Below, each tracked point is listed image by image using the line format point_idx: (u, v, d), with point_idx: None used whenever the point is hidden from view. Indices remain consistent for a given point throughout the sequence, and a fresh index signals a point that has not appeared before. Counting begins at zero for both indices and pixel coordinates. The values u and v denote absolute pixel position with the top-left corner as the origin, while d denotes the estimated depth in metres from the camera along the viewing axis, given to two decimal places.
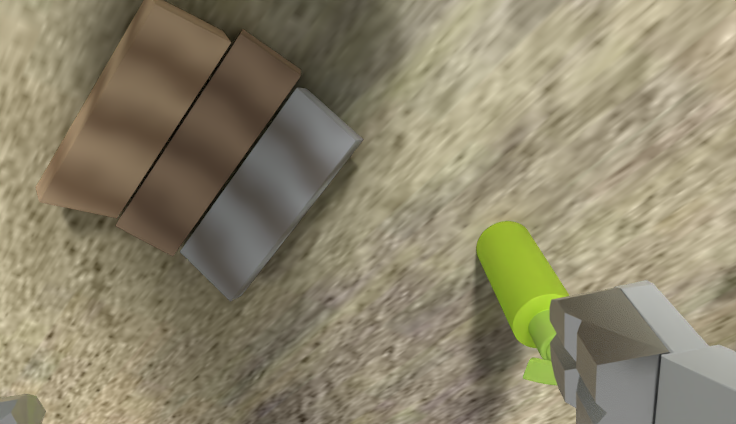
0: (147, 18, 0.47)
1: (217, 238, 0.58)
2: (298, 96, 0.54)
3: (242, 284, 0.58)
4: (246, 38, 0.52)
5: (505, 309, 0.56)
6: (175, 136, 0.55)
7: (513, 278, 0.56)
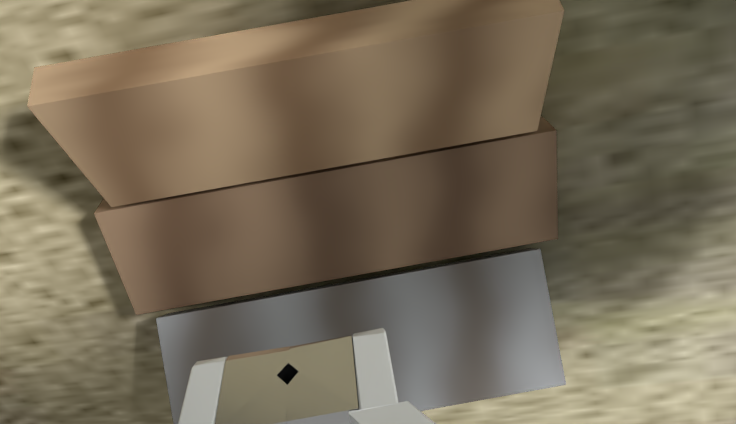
0: (530, 16, 0.23)
1: (240, 348, 0.32)
2: (533, 262, 0.32)
3: None
4: (555, 141, 0.29)
5: None
6: (327, 174, 0.29)
7: None
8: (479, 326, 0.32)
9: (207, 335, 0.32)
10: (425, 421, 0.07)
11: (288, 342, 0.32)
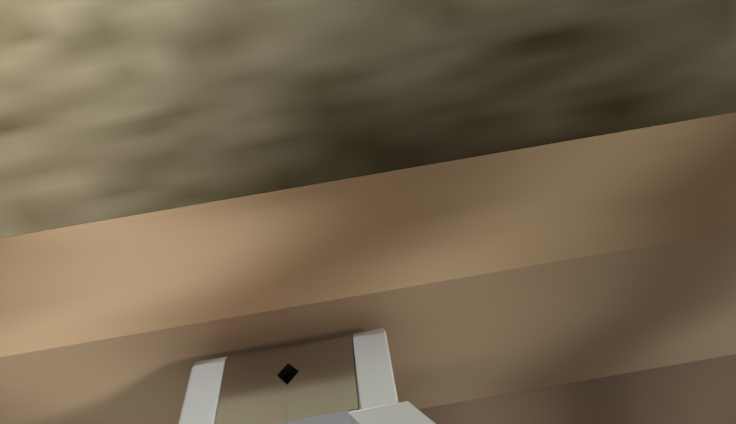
0: None
1: None
2: None
3: None
4: None
5: None
6: None
7: None
8: None
9: None
10: (425, 421, 0.07)
11: None
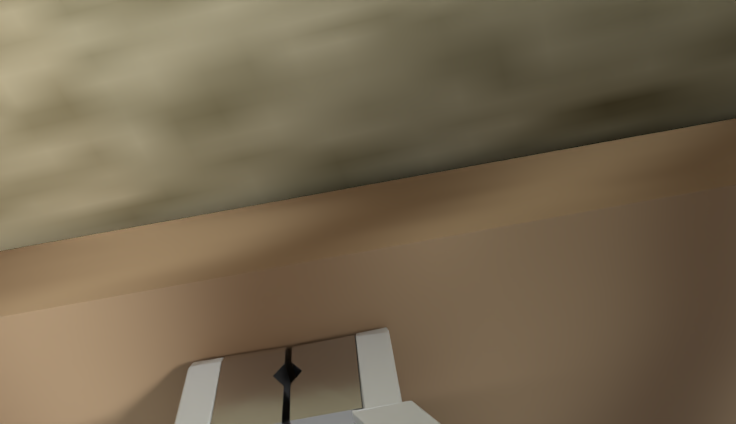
0: None
1: None
2: None
3: None
4: None
5: None
6: None
7: None
8: None
9: None
10: (429, 420, 0.07)
11: None
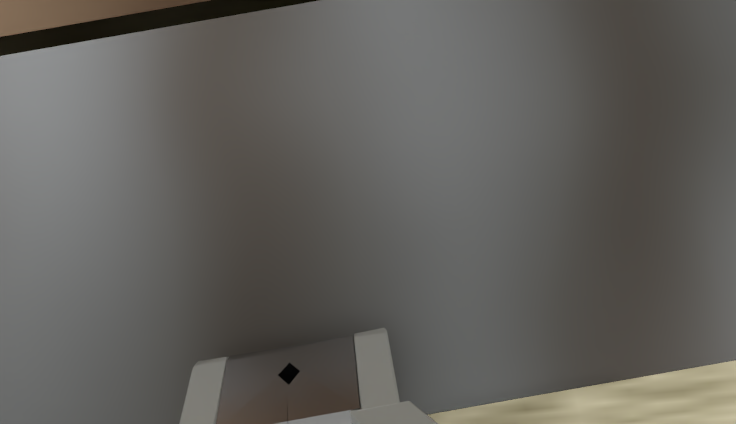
0: None
1: None
2: None
3: None
4: None
5: None
6: None
7: None
8: (649, 147, 0.10)
9: None
10: (427, 421, 0.07)
11: (56, 194, 0.10)
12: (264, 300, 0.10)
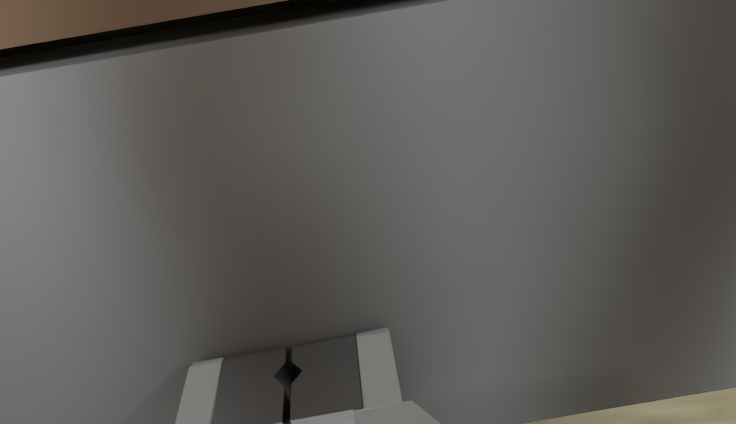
0: None
1: None
2: None
3: None
4: None
5: None
6: None
7: None
8: (712, 198, 0.09)
9: None
10: (429, 420, 0.07)
11: (22, 256, 0.09)
12: None
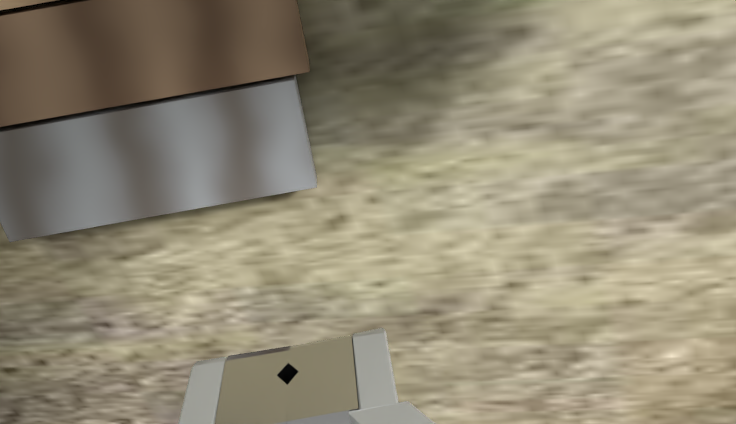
0: None
1: (42, 162, 0.38)
2: (288, 91, 0.37)
3: (43, 234, 0.40)
4: None
5: None
6: (92, 2, 0.34)
7: None
8: (244, 143, 0.38)
9: (11, 152, 0.37)
10: (425, 421, 0.07)
11: (83, 157, 0.38)
12: (145, 183, 0.39)
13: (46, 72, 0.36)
